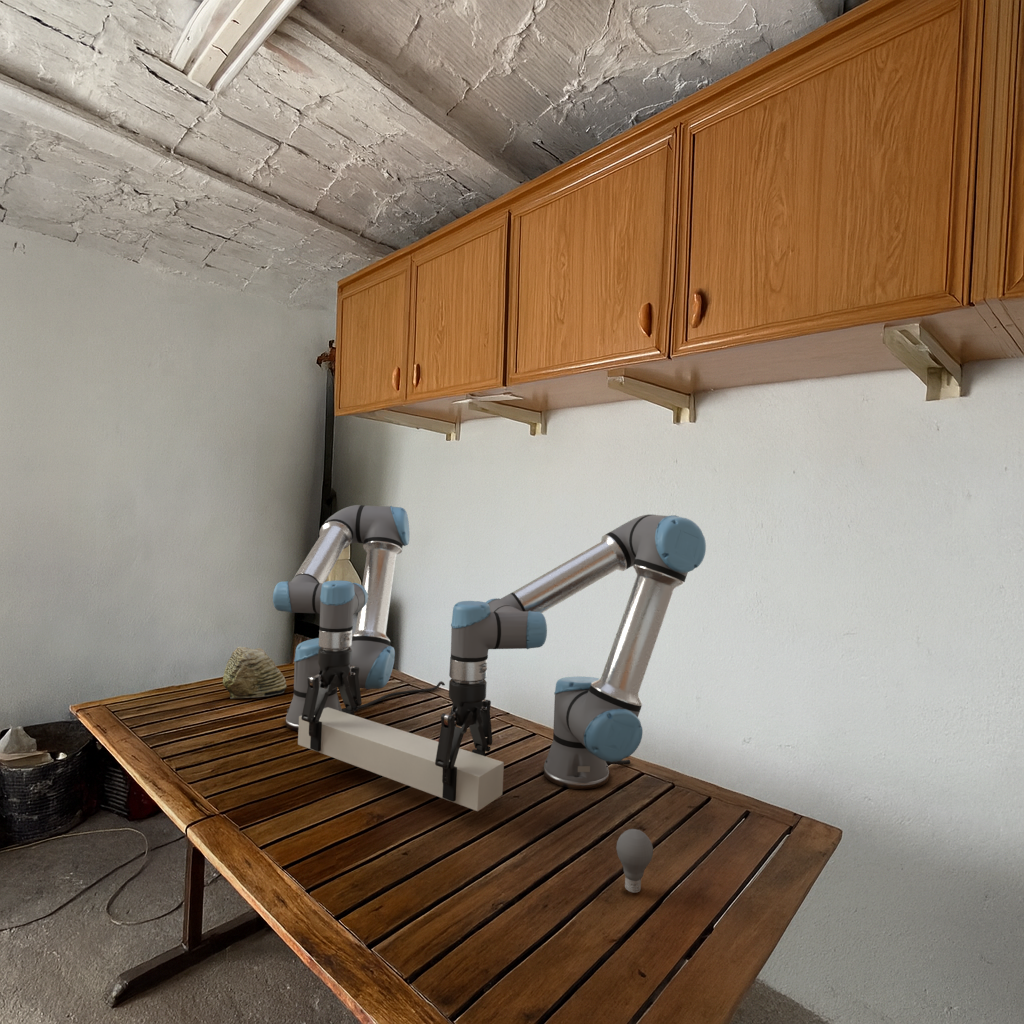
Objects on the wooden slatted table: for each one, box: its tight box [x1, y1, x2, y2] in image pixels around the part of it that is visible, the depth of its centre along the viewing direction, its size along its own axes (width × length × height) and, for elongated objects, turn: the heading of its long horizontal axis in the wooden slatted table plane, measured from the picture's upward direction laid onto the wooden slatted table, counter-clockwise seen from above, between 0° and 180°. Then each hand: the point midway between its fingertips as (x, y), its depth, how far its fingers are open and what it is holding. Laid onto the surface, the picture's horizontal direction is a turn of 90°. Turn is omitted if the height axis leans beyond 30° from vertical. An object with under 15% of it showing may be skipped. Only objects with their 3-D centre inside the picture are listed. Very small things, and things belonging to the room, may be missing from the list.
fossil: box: [222, 646, 288, 699], centre depth 198 cm, size 9×18×15 cm, turn 132°
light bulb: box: [615, 828, 654, 894], centre depth 106 cm, size 6×6×10 cm
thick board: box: [297, 707, 505, 812], centre depth 138 cm, size 52×9×7 cm, turn 58°
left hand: (331, 743), depth 148 cm, fingers closed on thick board, 9 cm apart
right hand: (463, 790), depth 128 cm, fingers closed on thick board, 9 cm apart
